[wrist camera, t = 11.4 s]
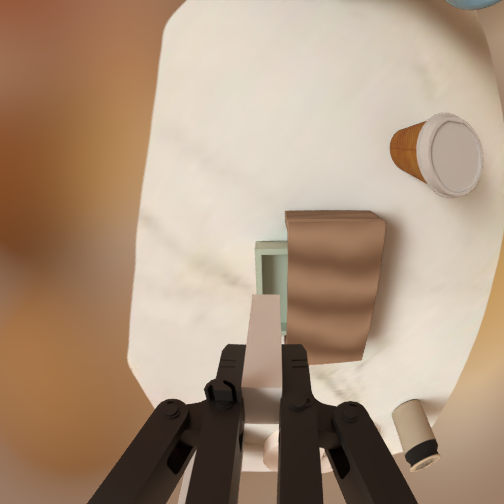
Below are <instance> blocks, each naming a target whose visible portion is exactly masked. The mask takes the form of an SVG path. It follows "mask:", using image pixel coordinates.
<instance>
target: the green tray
mask: <svg viewBox="0 0 504 504" xmlns="http://www.w3.org/2000/svg"><path fill="white" fill-rule="evenodd" d="M255 263H256V287H257V295H280V316H281V335H286V329H287V273H288V241H256V244H255Z"/></svg>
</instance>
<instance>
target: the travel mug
mask: <svg viewBox="0 0 504 504" xmlns="http://www.w3.org/2000/svg"><path fill="white" fill-rule="evenodd" d="M392 418H393V421H394V424H395V426H396V429H397V432H398V436H399V439H400V442H401V445H402V448H403V451H404V454H405V458H406V461H407V462H408V463H410V464H411V469H410V471H412V472H415V471H419V470H422V469H424V468H426V467H428V466H430V465H432V464H433V463H435V462H436V461H437V460H438V459H439V458H440V457H441V456H440V454H438V452H437V447H438V444H437V442H436V439H435V436H434V434H433V432H432V429H431V427H430V424H429V422H428V420H427V417H426V415H425V413H424V410H423V408H422V406H421V403H420V401H418V400H411V401H408V402H405V403H403V404H402V405H400V406H399V407H398V408H396V409H395V410H394V412H393V413H392Z"/></svg>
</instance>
